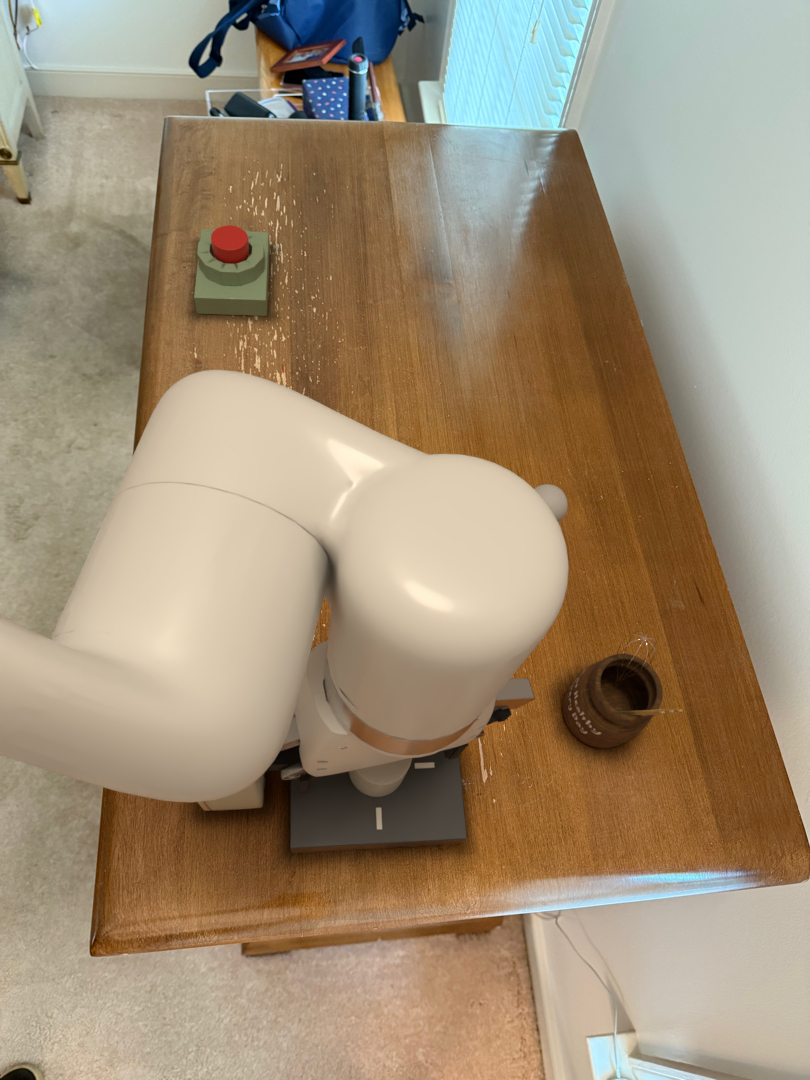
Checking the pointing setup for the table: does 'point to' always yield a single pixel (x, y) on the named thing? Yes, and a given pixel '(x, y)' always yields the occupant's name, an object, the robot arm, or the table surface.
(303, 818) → the panel
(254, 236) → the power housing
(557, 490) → the chess piece
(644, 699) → the utensil holder
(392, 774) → the hob knob
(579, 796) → the table surface
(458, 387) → the table surface
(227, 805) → the cosmetic box
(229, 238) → the power button
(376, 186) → the table surface
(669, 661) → the table surface
